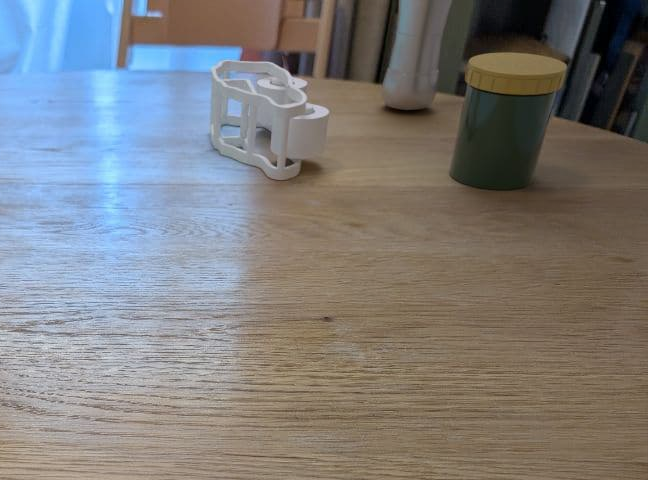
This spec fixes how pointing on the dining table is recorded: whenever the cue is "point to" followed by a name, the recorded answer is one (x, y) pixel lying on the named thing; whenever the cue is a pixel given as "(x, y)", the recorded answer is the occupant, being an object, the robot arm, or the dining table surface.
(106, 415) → the dining table surface
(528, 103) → the green jar
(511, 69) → the lid
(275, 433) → the dining table surface
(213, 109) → the car outline toy
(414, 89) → the plastic bottle
